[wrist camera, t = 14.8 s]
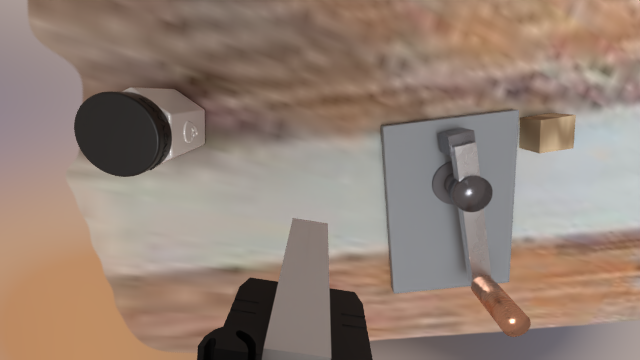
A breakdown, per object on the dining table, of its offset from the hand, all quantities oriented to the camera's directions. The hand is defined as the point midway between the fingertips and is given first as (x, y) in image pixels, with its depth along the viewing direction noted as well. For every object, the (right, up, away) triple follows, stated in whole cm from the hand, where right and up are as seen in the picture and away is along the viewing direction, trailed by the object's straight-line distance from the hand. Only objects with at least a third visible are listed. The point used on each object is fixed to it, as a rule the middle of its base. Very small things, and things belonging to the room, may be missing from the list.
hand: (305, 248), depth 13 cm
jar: (-19, +10, +27) cm, 34 cm away
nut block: (+27, +9, +25) cm, 38 cm away
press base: (+19, -1, +30) cm, 35 cm away
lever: (+20, -1, +27) cm, 34 cm away
